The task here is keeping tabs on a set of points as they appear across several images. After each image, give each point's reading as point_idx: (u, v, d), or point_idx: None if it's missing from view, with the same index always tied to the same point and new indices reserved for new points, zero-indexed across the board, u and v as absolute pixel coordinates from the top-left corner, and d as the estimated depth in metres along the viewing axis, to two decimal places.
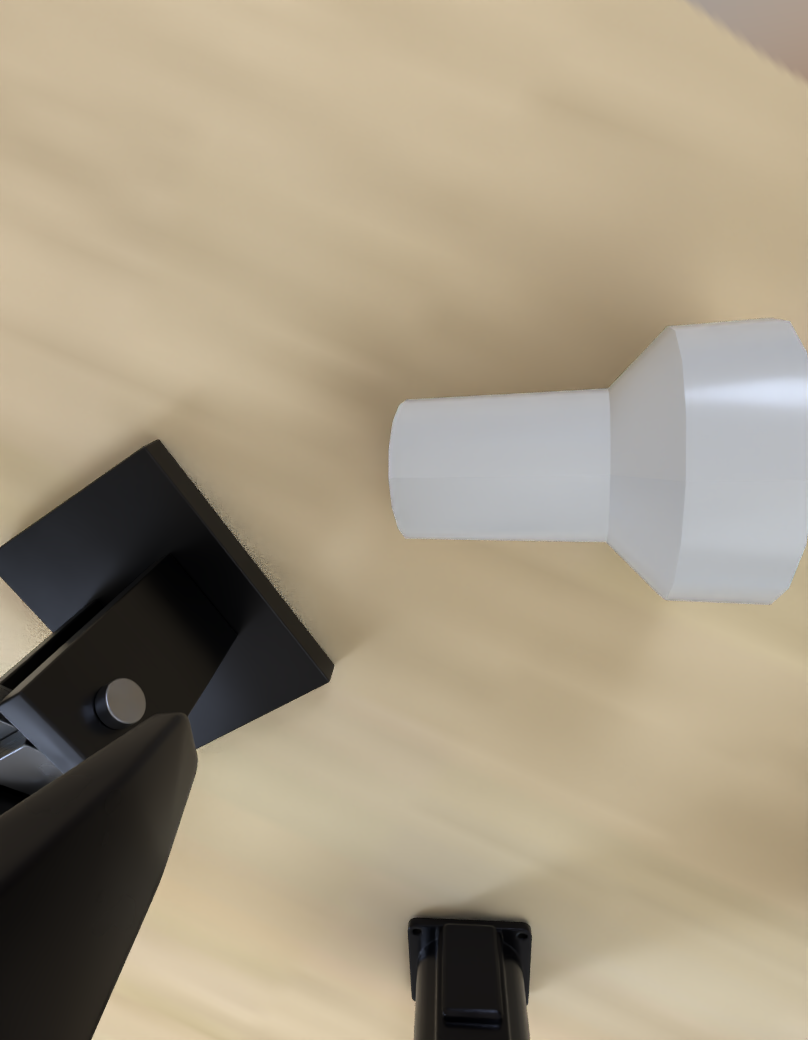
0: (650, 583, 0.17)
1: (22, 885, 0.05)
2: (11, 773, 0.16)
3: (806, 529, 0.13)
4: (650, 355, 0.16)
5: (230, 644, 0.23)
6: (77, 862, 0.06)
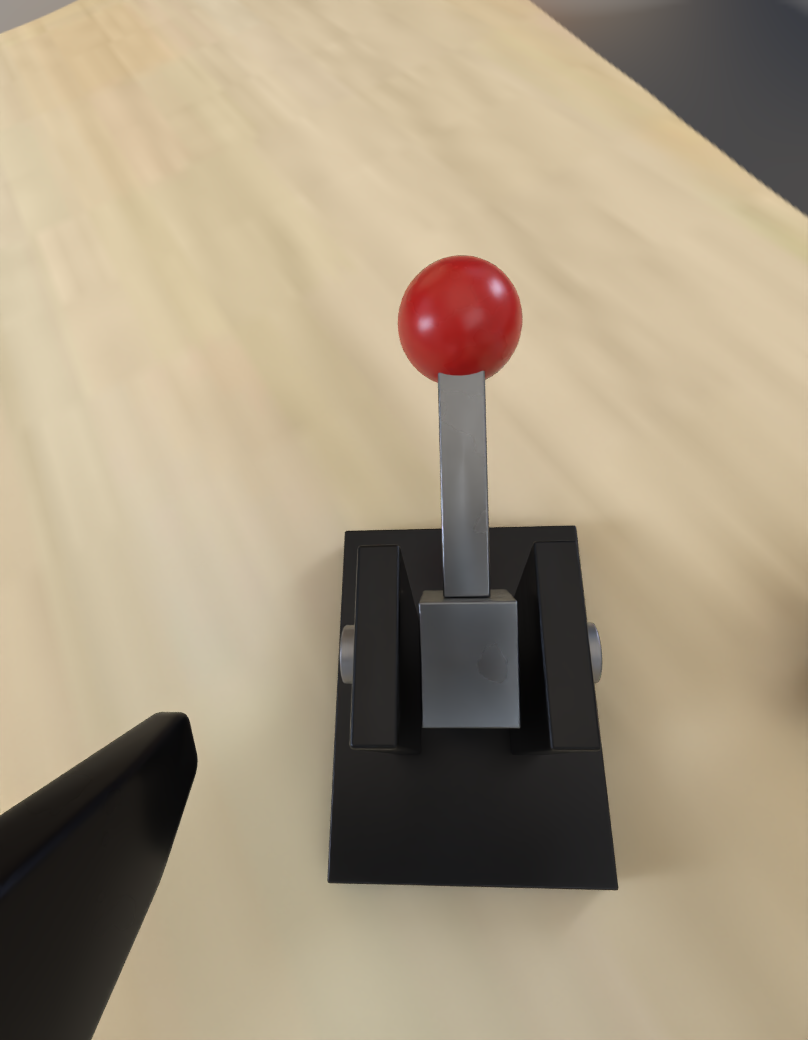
0: None
1: (22, 885, 0.05)
2: (452, 632, 0.13)
3: None
4: None
5: None
6: (77, 862, 0.06)
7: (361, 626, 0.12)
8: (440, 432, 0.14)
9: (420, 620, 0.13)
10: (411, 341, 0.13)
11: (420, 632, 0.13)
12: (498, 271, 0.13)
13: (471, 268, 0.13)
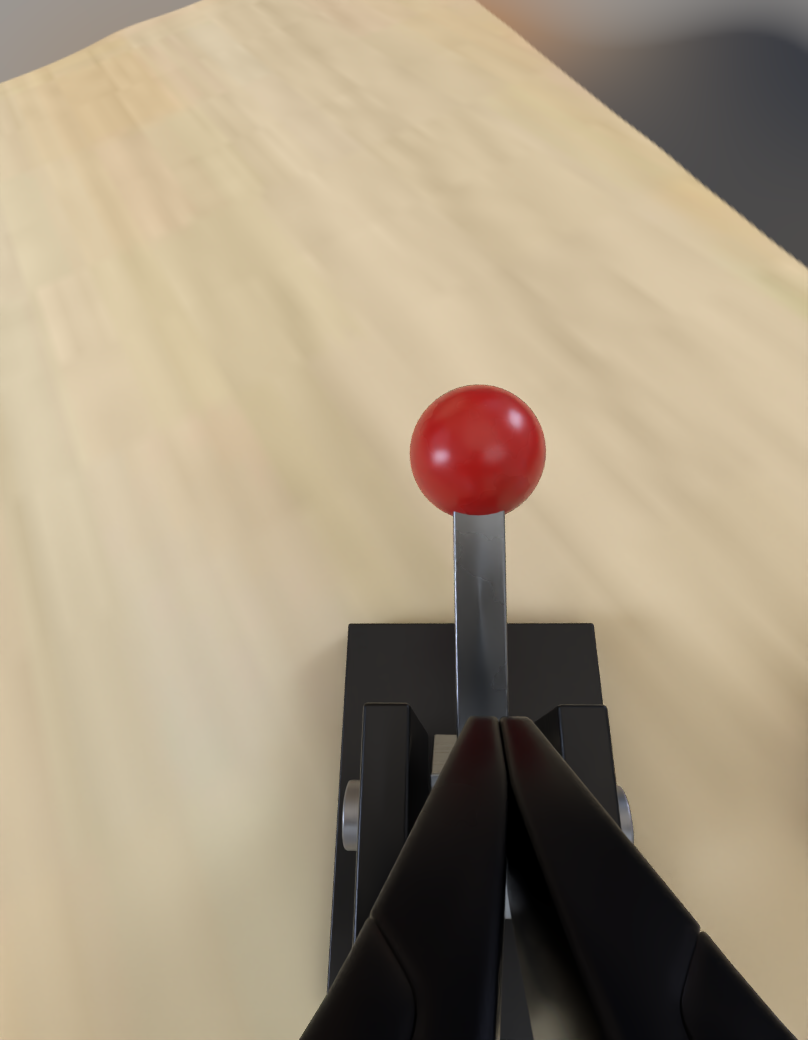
0: None
1: (501, 903, 0.05)
2: None
3: None
4: None
5: None
6: (503, 877, 0.06)
7: (366, 804, 0.11)
8: (455, 577, 0.12)
9: None
10: (424, 478, 0.12)
11: None
12: (520, 406, 0.12)
13: (491, 406, 0.12)
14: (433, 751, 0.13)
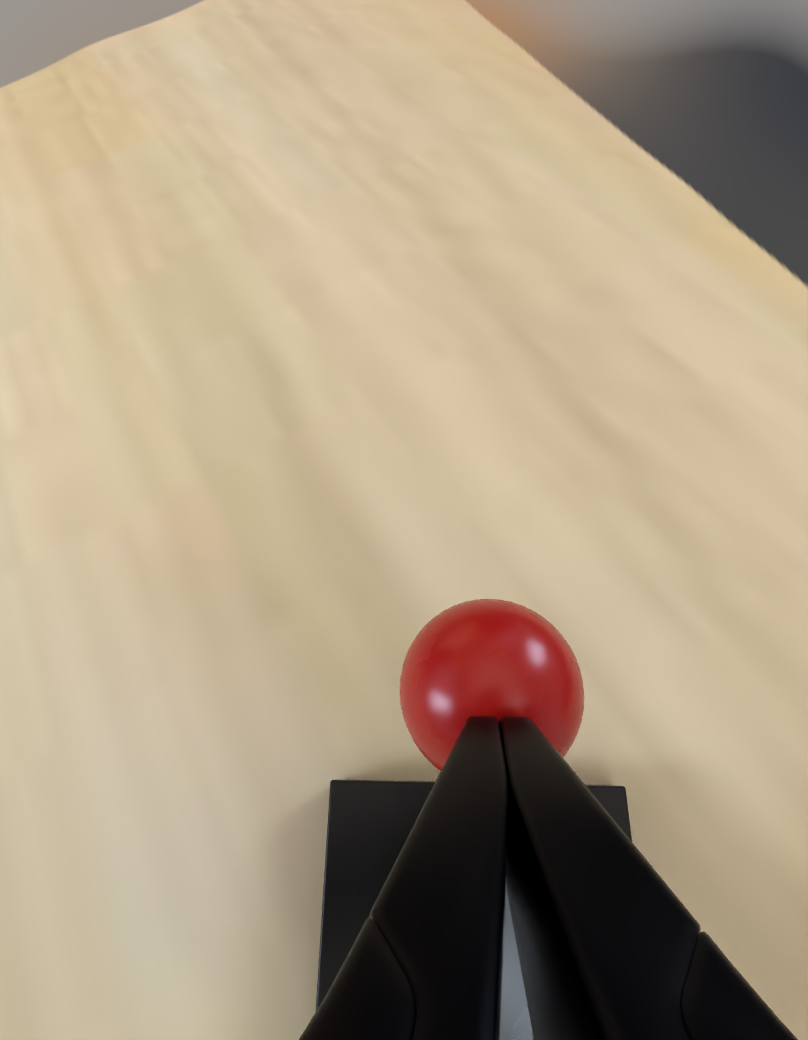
0: None
1: (501, 903, 0.05)
2: None
3: None
4: None
5: None
6: (503, 877, 0.06)
7: None
8: None
9: None
10: (419, 740, 0.09)
11: None
12: (551, 647, 0.09)
13: (512, 655, 0.08)
14: None
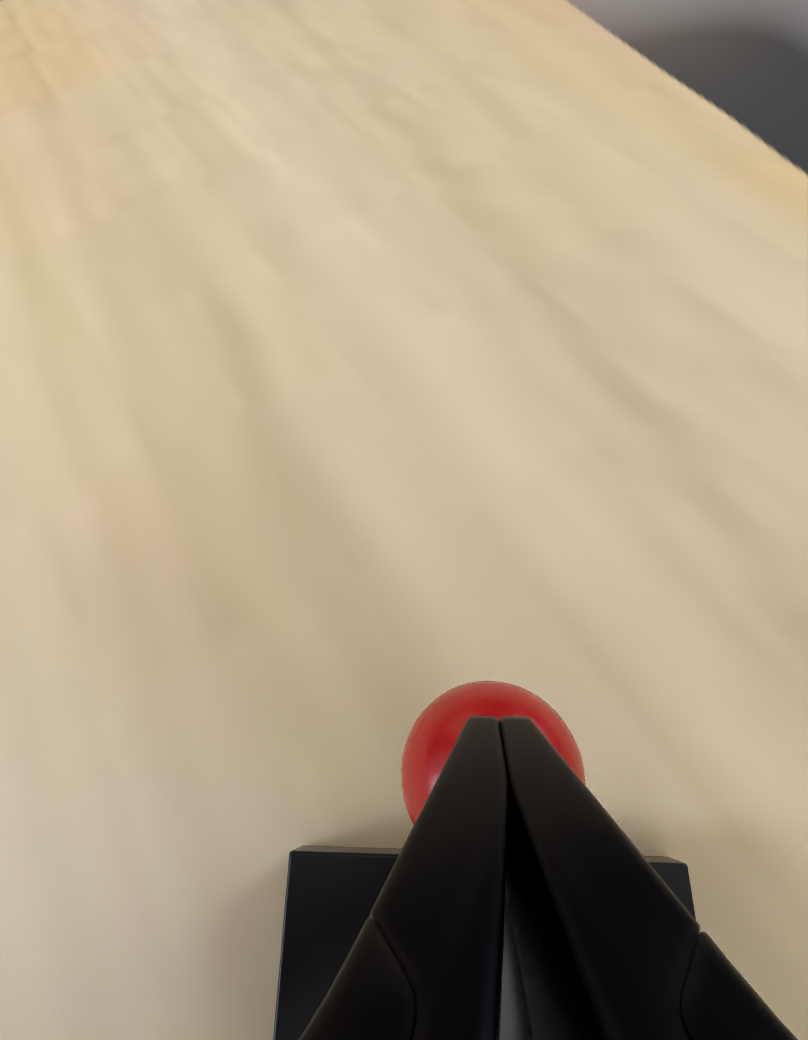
0: None
1: (501, 903, 0.05)
2: None
3: None
4: None
5: None
6: None
7: None
8: None
9: None
10: (419, 801, 0.09)
11: None
12: (545, 705, 0.09)
13: (508, 699, 0.09)
14: None
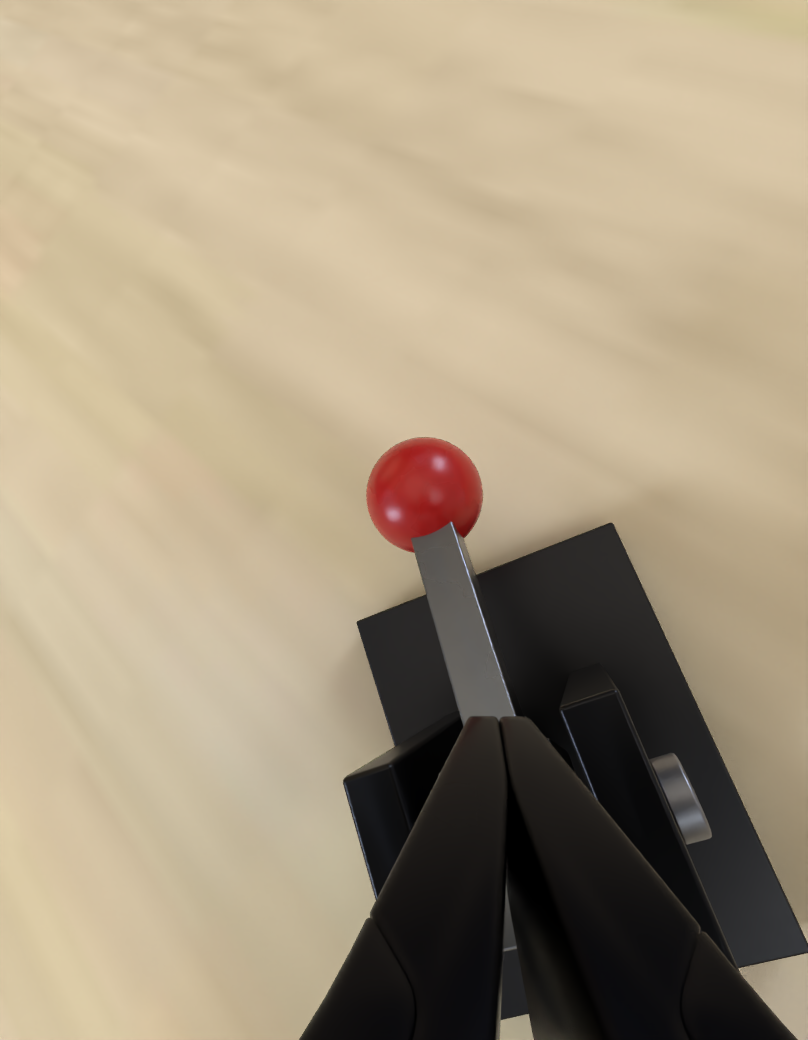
0: None
1: (501, 903, 0.05)
2: None
3: None
4: None
5: None
6: (503, 876, 0.06)
7: None
8: (426, 589, 0.13)
9: None
10: (378, 520, 0.14)
11: None
12: (436, 439, 0.14)
13: (409, 443, 0.14)
14: None
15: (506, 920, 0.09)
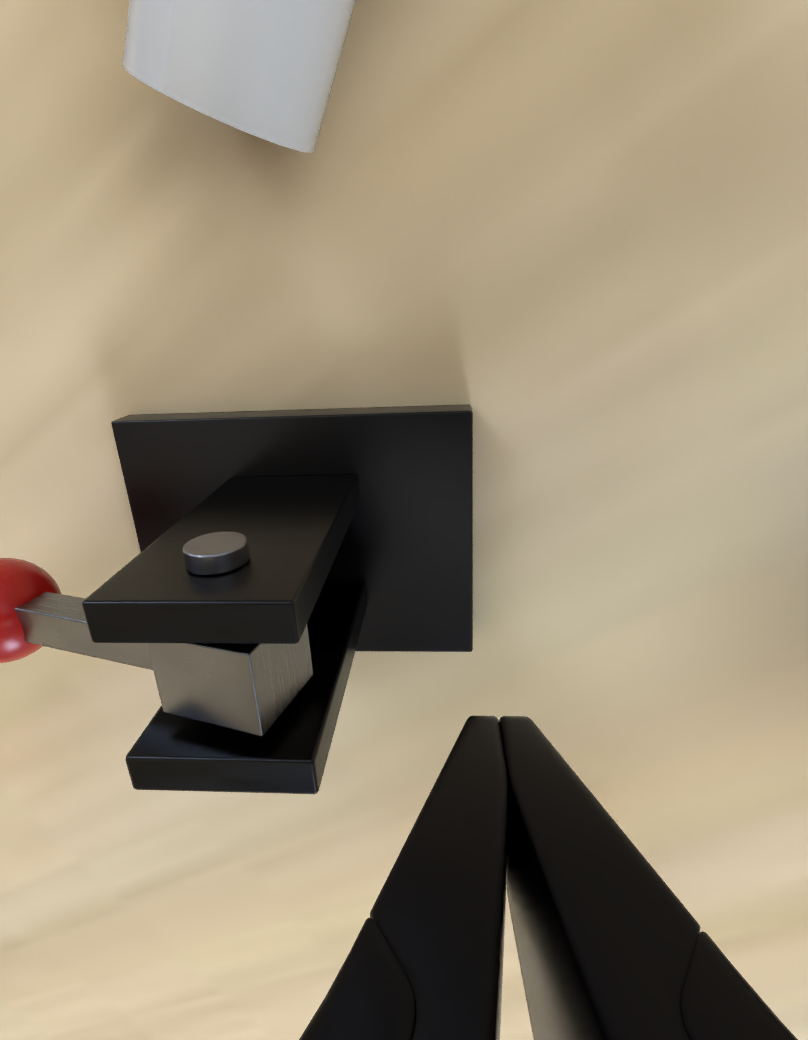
0: None
1: (501, 904, 0.05)
2: (179, 692, 0.13)
3: None
4: None
5: (351, 481, 0.18)
6: (503, 877, 0.06)
7: (210, 787, 0.13)
8: (62, 649, 0.15)
9: (177, 713, 0.14)
10: (6, 660, 0.16)
11: (186, 716, 0.14)
12: None
13: None
14: None
15: (245, 713, 0.13)
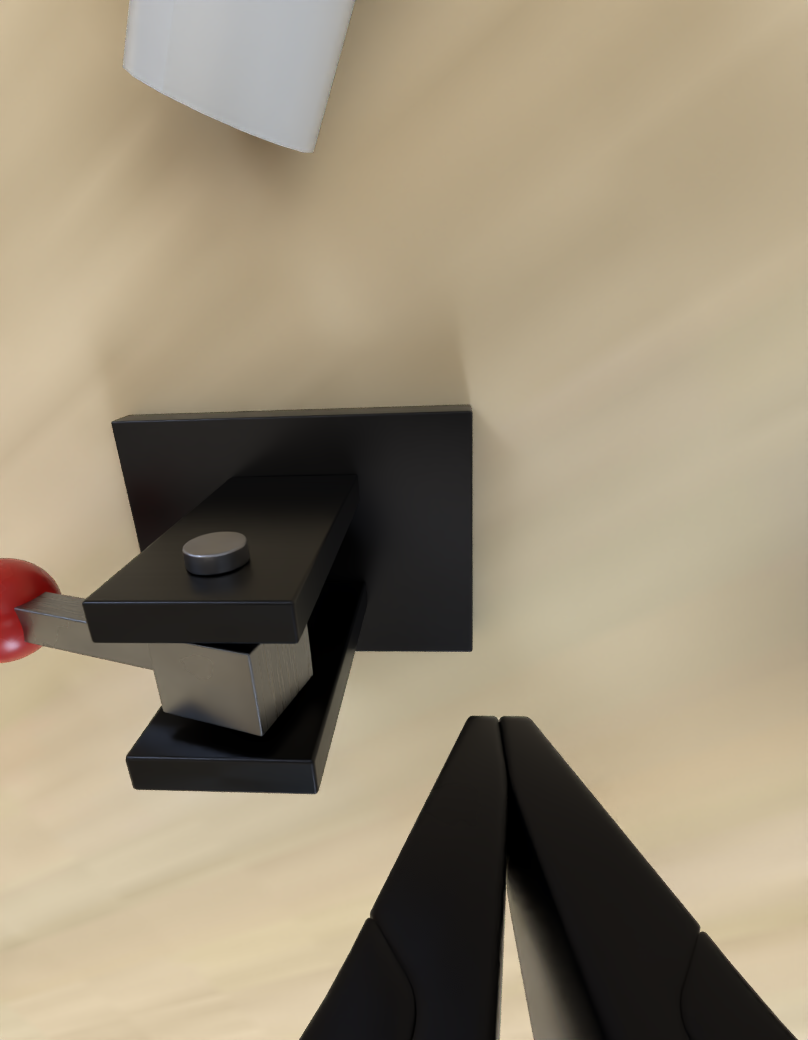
0: None
1: (501, 903, 0.05)
2: (179, 692, 0.13)
3: None
4: None
5: (350, 481, 0.18)
6: (503, 877, 0.06)
7: (210, 787, 0.13)
8: (62, 649, 0.15)
9: (177, 713, 0.14)
10: (6, 660, 0.16)
11: (186, 716, 0.14)
12: None
13: None
14: None
15: (245, 713, 0.13)
